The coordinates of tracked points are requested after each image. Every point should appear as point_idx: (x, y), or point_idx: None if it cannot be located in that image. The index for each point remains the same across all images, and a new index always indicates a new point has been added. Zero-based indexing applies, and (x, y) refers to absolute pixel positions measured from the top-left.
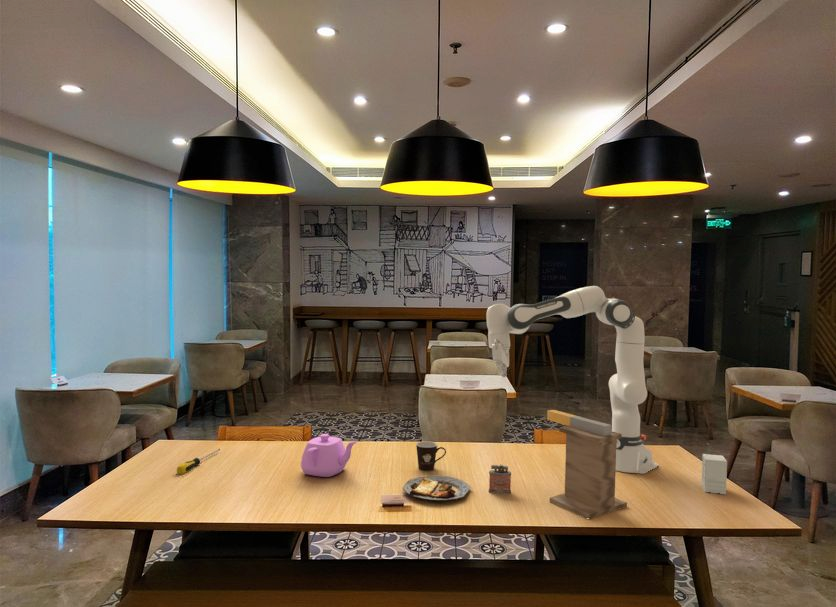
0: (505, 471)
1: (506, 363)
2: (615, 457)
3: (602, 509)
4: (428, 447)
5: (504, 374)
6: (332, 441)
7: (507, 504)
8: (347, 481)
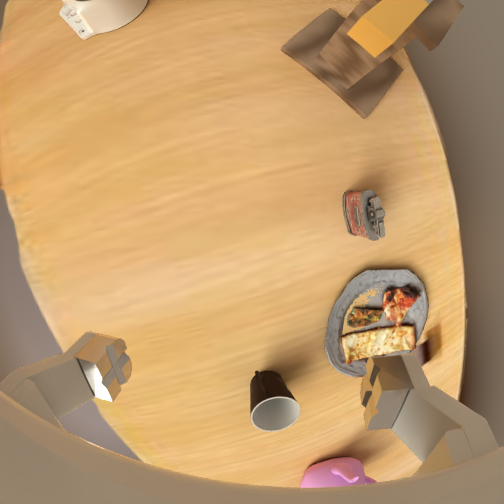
0: (366, 203)
1: (64, 448)
2: None
3: None
4: (298, 404)
5: (111, 364)
6: None
7: (398, 191)
8: (357, 437)
